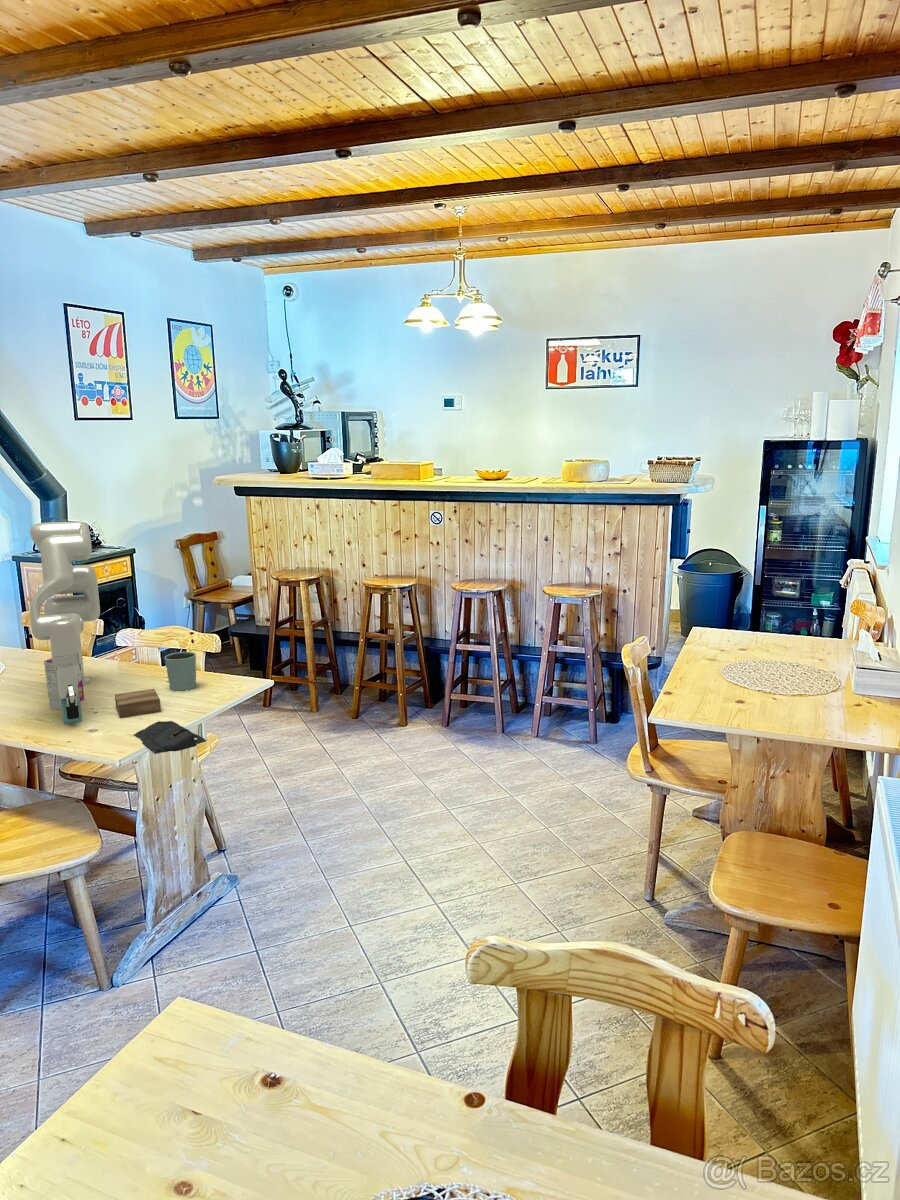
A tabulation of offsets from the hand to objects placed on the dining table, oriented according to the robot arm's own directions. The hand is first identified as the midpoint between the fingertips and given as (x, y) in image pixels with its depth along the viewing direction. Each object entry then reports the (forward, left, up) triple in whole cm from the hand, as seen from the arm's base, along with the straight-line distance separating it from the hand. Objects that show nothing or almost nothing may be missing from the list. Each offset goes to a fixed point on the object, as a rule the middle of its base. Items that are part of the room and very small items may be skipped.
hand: (71, 713), depth 242 cm
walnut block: (0, +19, -3) cm, 19 cm away
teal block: (0, 0, -3) cm, 3 cm away
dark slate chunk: (+31, +22, -3) cm, 39 cm away
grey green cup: (-16, +36, -3) cm, 40 cm away
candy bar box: (-18, 0, -3) cm, 18 cm away
